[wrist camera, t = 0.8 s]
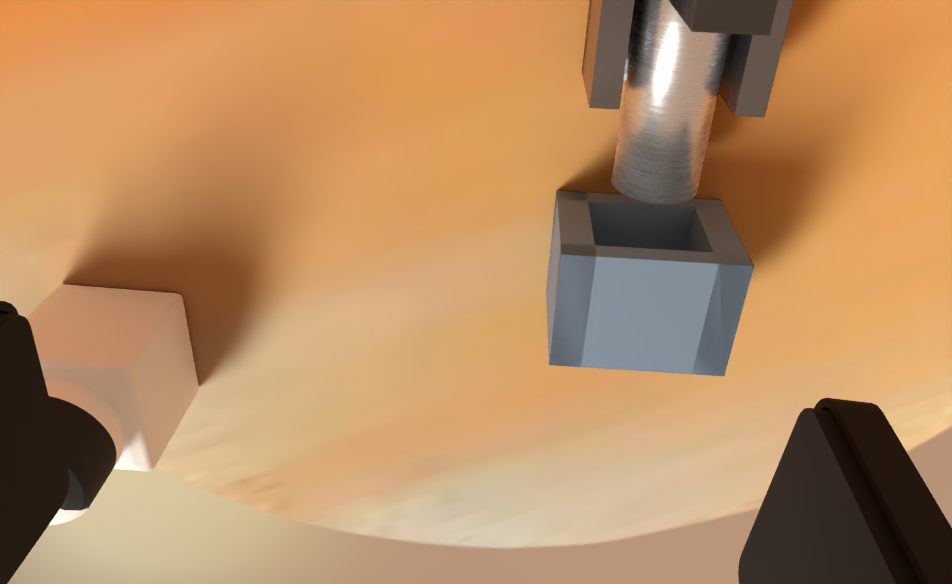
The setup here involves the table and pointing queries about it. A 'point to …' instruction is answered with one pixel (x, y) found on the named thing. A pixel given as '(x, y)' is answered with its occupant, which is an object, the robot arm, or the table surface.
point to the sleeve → (742, 72)
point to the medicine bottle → (112, 380)
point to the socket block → (644, 284)
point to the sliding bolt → (676, 91)
